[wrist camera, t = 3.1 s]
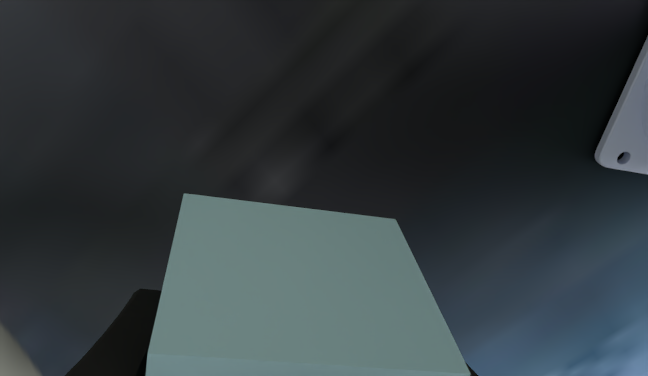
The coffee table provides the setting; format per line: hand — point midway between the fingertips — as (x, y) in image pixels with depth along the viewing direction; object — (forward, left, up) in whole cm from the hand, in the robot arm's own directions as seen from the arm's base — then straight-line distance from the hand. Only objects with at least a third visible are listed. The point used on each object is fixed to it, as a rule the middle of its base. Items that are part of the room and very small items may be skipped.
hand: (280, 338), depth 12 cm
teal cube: (0, 0, -2) cm, 2 cm away
